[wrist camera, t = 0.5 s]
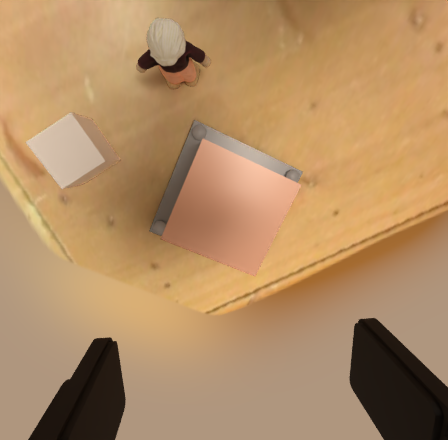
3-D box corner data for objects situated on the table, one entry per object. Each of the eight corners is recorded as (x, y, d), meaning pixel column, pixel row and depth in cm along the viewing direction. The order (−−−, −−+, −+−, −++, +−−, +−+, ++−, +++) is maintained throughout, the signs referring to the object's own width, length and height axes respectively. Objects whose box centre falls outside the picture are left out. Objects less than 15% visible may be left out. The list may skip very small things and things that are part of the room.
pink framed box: (194, 120, 36) (192, 111, 28) (300, 171, 38) (325, 175, 30) (150, 229, 38) (137, 248, 31) (251, 269, 41) (262, 296, 33)
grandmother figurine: (201, 50, 34) (200, -11, 21) (211, 82, 35) (216, 42, 22) (143, 69, 34) (108, 21, 21) (154, 101, 35) (127, 72, 22)
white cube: (54, 144, 35) (25, 142, 29) (93, 119, 35) (70, 111, 29) (84, 184, 37) (61, 189, 31) (121, 160, 36) (105, 161, 30)
